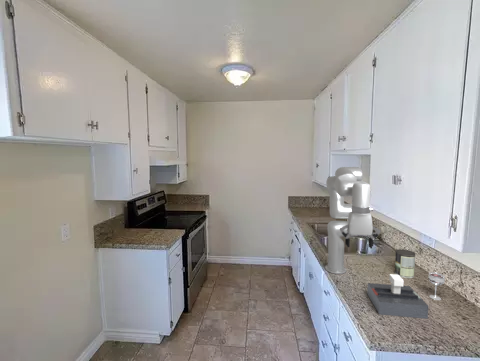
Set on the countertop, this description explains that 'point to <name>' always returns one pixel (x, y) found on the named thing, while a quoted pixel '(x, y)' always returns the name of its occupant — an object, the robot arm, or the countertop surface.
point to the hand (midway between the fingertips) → (359, 246)
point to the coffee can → (404, 263)
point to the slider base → (397, 301)
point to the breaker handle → (396, 283)
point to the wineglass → (436, 282)
